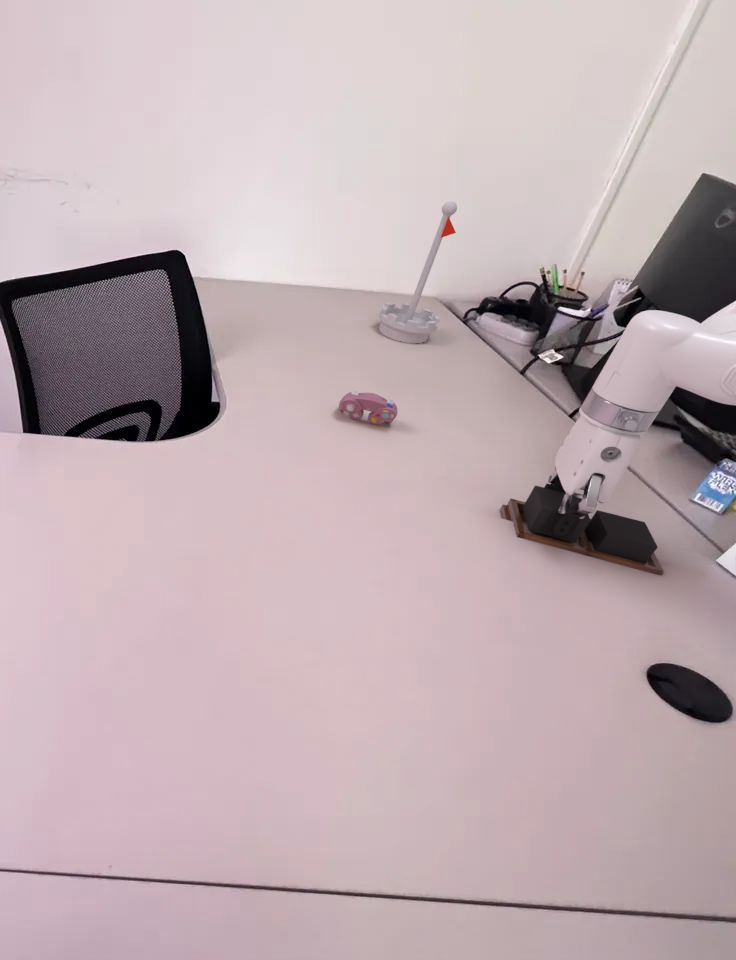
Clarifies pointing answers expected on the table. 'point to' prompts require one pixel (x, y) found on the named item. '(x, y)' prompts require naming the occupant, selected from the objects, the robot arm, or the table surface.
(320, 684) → the table surface
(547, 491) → the black pad
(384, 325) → the flag stand
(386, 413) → the video game controller
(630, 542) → the black pad
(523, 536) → the brown wooden frame
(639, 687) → the table surface
